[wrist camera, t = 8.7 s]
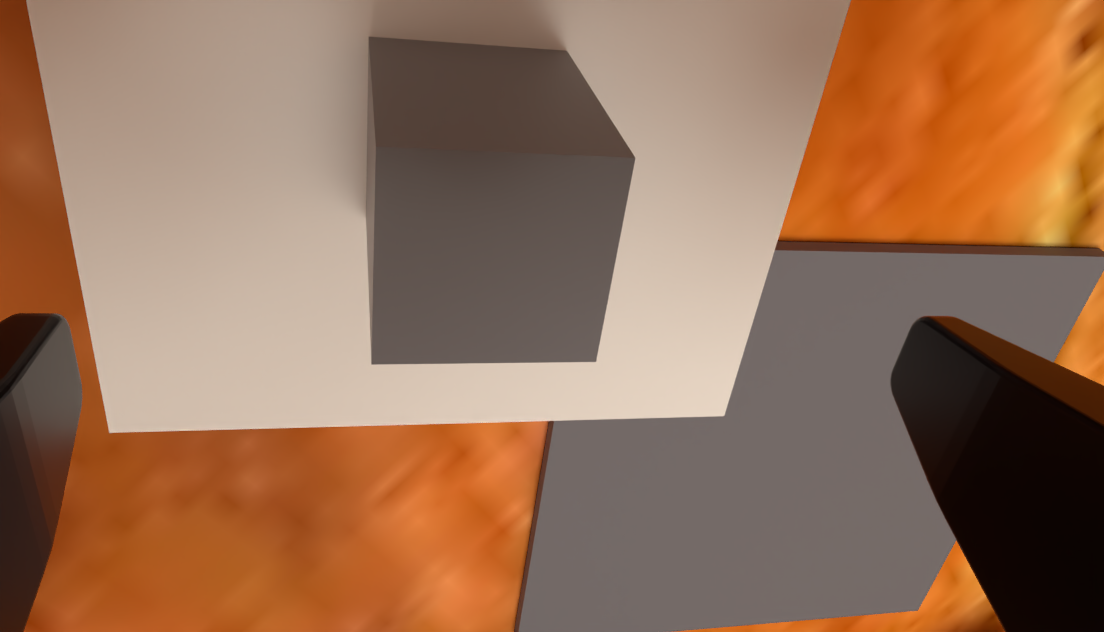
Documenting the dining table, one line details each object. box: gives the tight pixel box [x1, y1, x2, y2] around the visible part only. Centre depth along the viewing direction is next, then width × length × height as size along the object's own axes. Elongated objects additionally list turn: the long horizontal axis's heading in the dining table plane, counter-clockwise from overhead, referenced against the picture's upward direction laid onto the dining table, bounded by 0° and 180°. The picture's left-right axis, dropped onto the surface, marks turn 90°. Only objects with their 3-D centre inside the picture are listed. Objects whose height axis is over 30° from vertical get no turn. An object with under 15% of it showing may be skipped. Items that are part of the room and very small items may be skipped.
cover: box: [26, 0, 851, 433], centre depth 13 cm, size 12×12×5 cm
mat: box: [514, 241, 1104, 632], centre depth 29 cm, size 16×16×1 cm
